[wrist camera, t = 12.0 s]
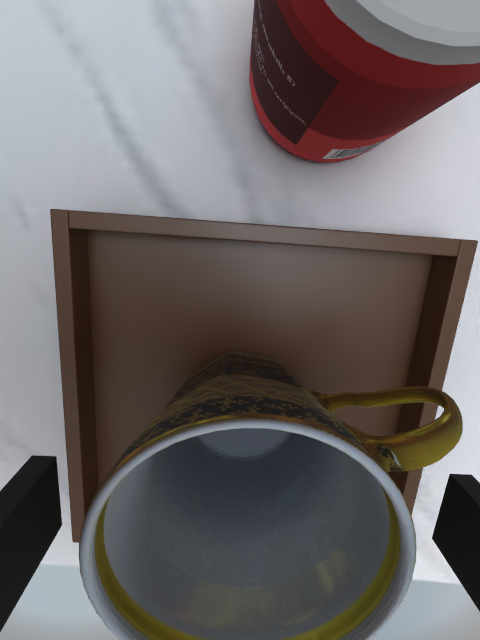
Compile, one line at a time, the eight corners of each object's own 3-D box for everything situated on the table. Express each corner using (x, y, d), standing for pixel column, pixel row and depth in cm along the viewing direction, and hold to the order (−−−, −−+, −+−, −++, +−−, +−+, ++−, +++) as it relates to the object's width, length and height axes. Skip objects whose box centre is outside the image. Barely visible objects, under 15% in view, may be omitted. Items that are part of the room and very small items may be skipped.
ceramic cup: (219, 501, 21) (206, 726, 11) (121, 381, 19) (2, 533, 9) (401, 398, 20) (565, 559, 10) (317, 254, 17) (419, 279, 8)
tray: (90, 508, 22) (72, 542, 19) (75, 212, 17) (49, 208, 15) (383, 522, 22) (401, 557, 20) (445, 239, 18) (478, 240, 15)
